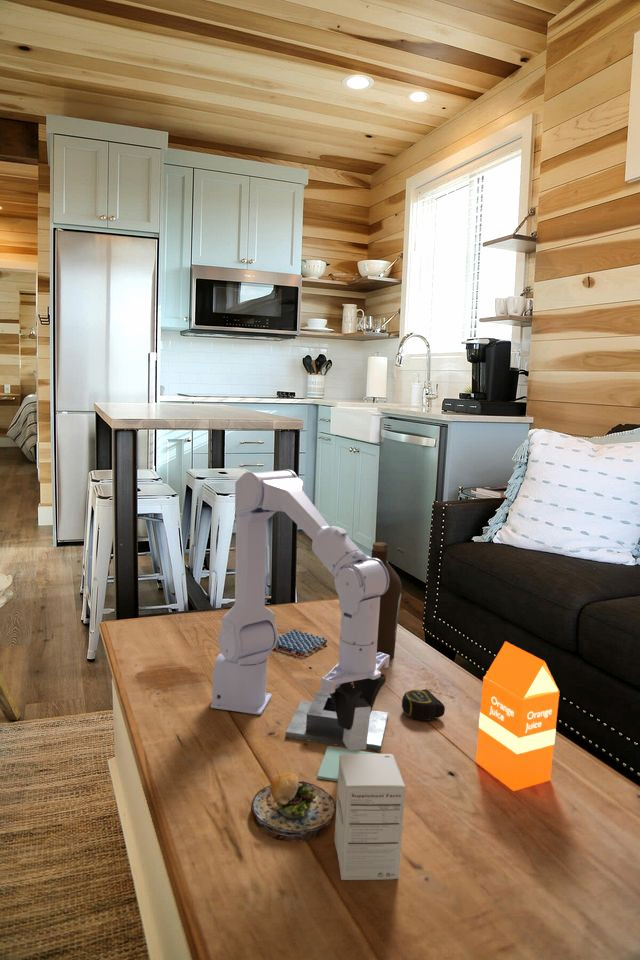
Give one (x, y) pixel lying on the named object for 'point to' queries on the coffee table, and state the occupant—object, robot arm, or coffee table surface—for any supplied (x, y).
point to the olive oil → (387, 605)
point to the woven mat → (299, 643)
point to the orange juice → (517, 719)
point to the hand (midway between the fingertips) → (353, 722)
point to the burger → (291, 809)
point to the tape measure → (422, 705)
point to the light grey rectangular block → (358, 727)
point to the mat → (334, 762)
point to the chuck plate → (330, 739)
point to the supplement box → (369, 816)
